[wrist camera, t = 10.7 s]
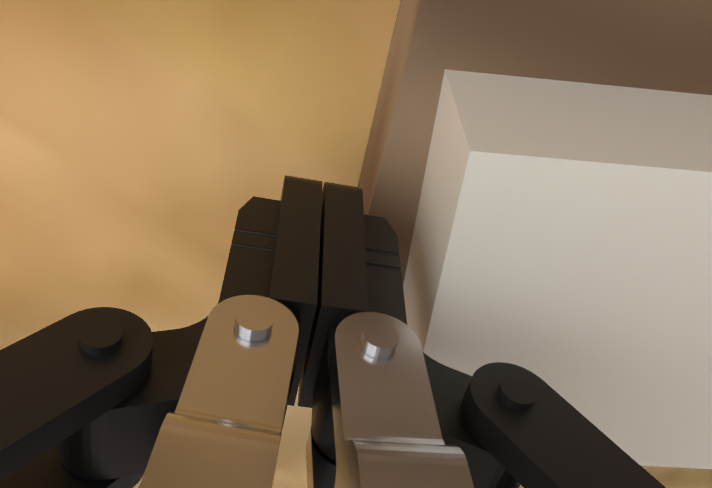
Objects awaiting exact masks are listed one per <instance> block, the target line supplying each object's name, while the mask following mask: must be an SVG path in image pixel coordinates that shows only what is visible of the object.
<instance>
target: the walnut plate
mask: <svg viewBox="0 0 712 488" xmlns="http://www.w3.org/2000/svg"><path fill="white" fill-rule="evenodd" d="M445 69H447V70H457V71H467V72H478V73H488V74H498V75H509V76H519V77H529V78H539V79H550V80H560V81H570V82H581V83H591V84H601V85H612V86H622V87H632V88H643V89H653V90H663V91H673V92H684V93H694V94H704V95H712V0H401V2H400V6H399V11H398V15H397V19H396V24H395V28H394V32H393V37H392V41H391V45H390V50H389V54H388V58H387V63H386V67H385V71H384V75H383V80H382V84H381V88H380V93H379V97H378V101H377V106H376V110H375V114H374V119H373V123H372V127H371V132H370V136H369V140H368V145H367V149H366V153H365V158H364V162H363V166H362V170H361V175H360V179H359V183H358V187H359V188H362V189H363V207H364V214H365V215H372V216H378V217H384V218H386V220H387V221H388V223H389V224H390V225H391V227H392V228H393V230H394V231H395V233H396V234H397V236H398V246H399V257H400V264H401V271H400V272H401V273H402V282H403V284H404V279H405V273H406V268H407V263H408V258H409V253H410V247H411V242H412V237H413V232H414V227H415V222H416V216H417V211H418V206H419V201H420V196H421V190H422V185H423V180H424V175H425V170H426V164H427V159H428V154H429V149H430V144H431V139H432V133H433V128H434V123H435V118H436V113H437V107H438V102H439V97H440V92H441V87H442V82H443V76H444V71H445Z"/></svg>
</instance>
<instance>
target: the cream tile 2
mask: <svg viewBox="0 0 712 488" xmlns="http://www.w3.org/2000/svg"><path fill="white" fill-rule="evenodd" d="M403 291H404V300H405V309H406V318H407V326H408V327H410V328H411V329H412V330H413V331H414V333H415V334H416V335H417V337H418V339H419V340H420V343H421V346H422V351H423V352H424V353H425V354H426V355H428V356H429V357H430V358H432V359H434V360H435V361H437V362H439V363H441V364H443V365H445V366H447V367H450V368H452V369H455V370H458V371H460V372H463V373H465V374H468V375H470V376H473V374H474V372H475V371H476V370H477V369H478V368H480V367H481V366H483V365H486V364H489V363H493V362H504V363H510V364H515V365H518V366H520V367H523V368H525V369H527V370H529V371H531V372H533V373H534V374H536V375H537V376H538V377H540V378H541V379H542V380H543V381H545V382H546V383H547V384H548V385H549V386H550V387H551V388H553V389H554V390H555V391H556V392H557V393H558V394H559V395H560V396H562V397H563V398H564V399H565V400H566V401H567V402H568V403H570V404H571V405H572V406H573V407H574V408H575V409H576V410H578V411H579V412H580V413H581V414H582V415H583V416H584V417H586V418H587V419H588V420H589V421H590V422H591V423H592V424H594V425H595V426H596V427H597V428H598V429H599V430H600V431H602V432H603V433H604V434H605V435H606V436H607V437H608V438H609V439H611V440H612V441H613V442H614V443H615V444H616V445H617V446H619V447H620V448H621V449H622V450H623V451H624V452H625V453H627V454H628V455H629V456H630V457H631V458H632V459H633V460H635V461H636V462H637V463H638V464H639V465H640V466H658V467H677V468H696V469H712V95H704V94H694V93H684V92H673V91H663V90H653V89H643V88H632V87H622V86H612V85H601V84H591V83H581V82H570V81H560V80H550V79H539V78H529V77H519V76H509V75H498V74H488V73H478V72H467V71H457V70H447V69H445V71H444V76H443V82H442V87H441V92H440V97H439V102H438V107H437V113H436V118H435V123H434V128H433V133H432V139H431V144H430V149H429V154H428V159H427V164H426V170H425V175H424V180H423V185H422V190H421V196H420V201H419V206H418V211H417V216H416V222H415V227H414V232H413V237H412V242H411V247H410V253H409V258H408V263H407V268H406V273H405V279H404V284H403Z"/></svg>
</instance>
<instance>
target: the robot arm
mask: <svg viewBox="0 0 712 488" xmlns="http://www.w3.org/2000/svg"><path fill="white" fill-rule="evenodd" d="M400 271H401V264H400V257H399V246H398V236H397V234H396V233H395V231H394V230H393V228H392V227H391V225H390V224H389V223H388V221H387V220H386V218H384V217H378V216H372V215H365V214H364V207H363V189H362V188H359V187H353V186H347V185H341V184H335V183H329V182H325V183H324V186H323V190H322V181H316V180H310V179H304V178H298V177H292V176H286V175H285V178H284V183H283V189H282V195H281V201H278V200H272V199H266V198H260V197H252V198H251V199H250V200H249V201H248V202H247V203H246V204H245V205H244V206H243V207H242V208H241V209H240V210H239V212H238V217H237V221H236V226H235V231H234V235H233V239H232V245H231V249H230V253H229V258H228V262H227V267H226V271H225V276H224V281H223V285H222V290H221V294H220V299H219V302H218V304H217V305H216V306H215V307H214V308H213V309H212V311H211V312H210V314H209V316H207V317H206V318H205V319H203V320H202V321H200V322H198V323H196V324H194V325H191V326H188V327H185V328H181V329H174V330H166V331H157V332H151V329H150V328H149V326H148V325H147V323H146V322H145V321H144V320H143V319H141V318H140V317H138V316H137V315H135V314H133V313H131V312H129V311H126V310H122V309H118V308H110V307H98V308H90V309H85V310H82V311H79V312H76V313H74V314H71V315H69V316H67V317H65V318H63V319H61V320H59V321H57V322H55V323H53V324H51V325H49V326H47V327H46V328H44V329H42V330H40V331H38V332H36V333H34V334H32V335H30V336H28V337H26V338H24V339H22V340H20V341H18V342H16V343H14V344H12V345H10V346H8V347H6V348H4V349H2V350H0V488H133V487H134V486H135V485H136V484H137V483H138V482H139V481H140V479H141V478H142V477H143V478H142V481H141V484H140V486H139V488H272V484H273V478H274V473H275V467H276V462H277V456H278V451H279V445H280V439H281V431H282V428H283V423H284V419H285V414H286V410H287V405H292V406H294V403H295V399H296V394H297V390H298V386H299V396H298V406H302V407H310V408H312V425H311V429H310V432H309V436H308V440H307V444H306V461H307V488H519V486H520V485H522V486H523V487H524V488H665V487H664V486H663V485H662V484H661V483H660V482H658V481H657V480H656V479H655V478H654V477H653V476H652V475H651V474H649V473H648V472H647V471H646V470H645V469H644V468H643V467H641V466H640V465H639V464H638V463H637V462H636V461H635V460H633V459H632V458H631V457H630V456H629V455H628V454H627V453H625V452H624V451H623V450H622V449H621V448H620V447H619V446H617V445H616V444H615V443H614V442H613V441H612V440H611V439H609V438H608V437H607V436H606V435H605V434H604V433H603V432H602V431H600V430H599V429H598V428H597V427H596V426H595V425H594V424H592V423H591V422H590V421H589V420H588V419H587V418H586V417H584V416H583V415H582V414H581V413H580V412H579V411H578V410H576V409H575V408H574V407H573V406H572V405H571V404H570V403H568V402H567V401H566V400H565V399H564V398H563V397H562V396H560V395H559V394H558V393H557V392H556V391H555V390H554V389H553V388H551V387H550V386H549V385H548V384H547V383H546V382H545V381H543V380H542V379H541V378H540V377H538V376H537V375H536V374H534V373H533V372H531V371H529V370H527V369H525V368H523V367H520V366H518V365H515V364H510V363H504V362H493V363H489V364H486V365H483V366H481V367H480V368H478V369H477V370H476V371H475V372H474V374H473V376H470V375H468V374H465V373H463V372H460V371H458V370H455V369H452V368H450V367H447V366H445V365H443V364H441V363H439V362H437V361H435V360H434V359H432V358H430V357H429V356H428V355H426V354H425V353H424V352H423V351H422V346H421V343H420V340H419V339H418V337H417V335H416V334H415V333H414V331H413V330H412V329H411V328H410V327H408V326H407V318H406V309H405V300H404V291H403V282H402V273H401V272H400Z"/></svg>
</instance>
